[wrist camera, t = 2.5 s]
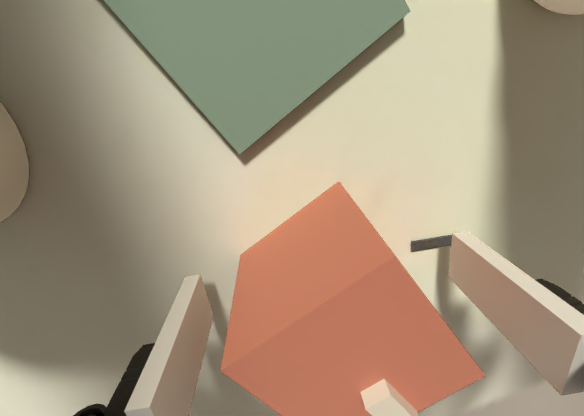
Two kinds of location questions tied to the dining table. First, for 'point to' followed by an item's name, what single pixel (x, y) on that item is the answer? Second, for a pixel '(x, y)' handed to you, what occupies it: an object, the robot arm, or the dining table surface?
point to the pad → (254, 51)
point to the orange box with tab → (338, 322)
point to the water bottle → (563, 6)
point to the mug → (11, 166)
